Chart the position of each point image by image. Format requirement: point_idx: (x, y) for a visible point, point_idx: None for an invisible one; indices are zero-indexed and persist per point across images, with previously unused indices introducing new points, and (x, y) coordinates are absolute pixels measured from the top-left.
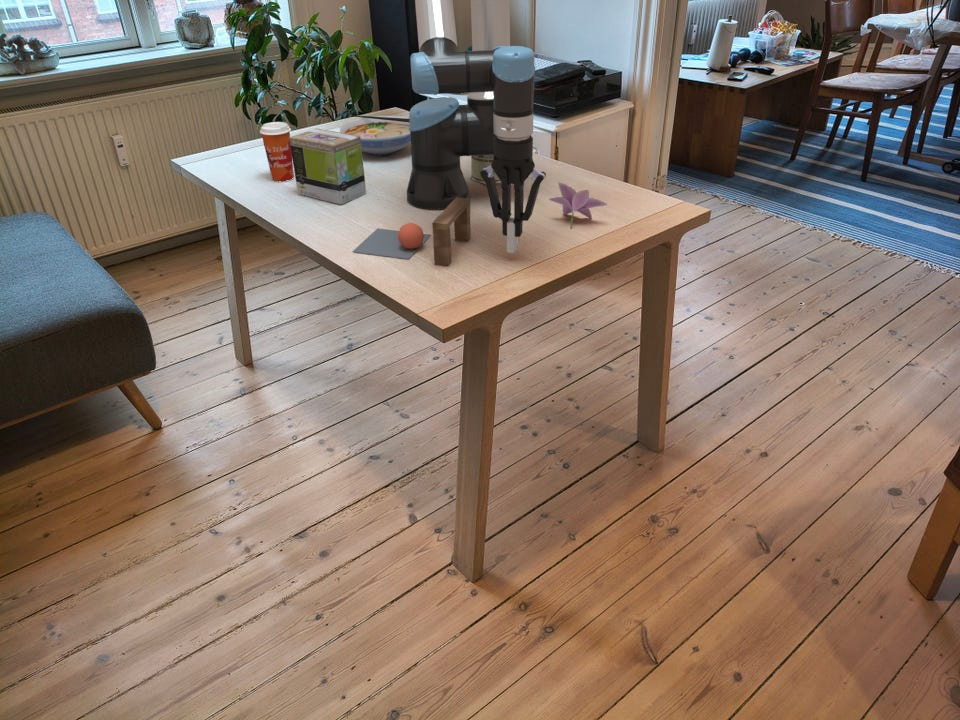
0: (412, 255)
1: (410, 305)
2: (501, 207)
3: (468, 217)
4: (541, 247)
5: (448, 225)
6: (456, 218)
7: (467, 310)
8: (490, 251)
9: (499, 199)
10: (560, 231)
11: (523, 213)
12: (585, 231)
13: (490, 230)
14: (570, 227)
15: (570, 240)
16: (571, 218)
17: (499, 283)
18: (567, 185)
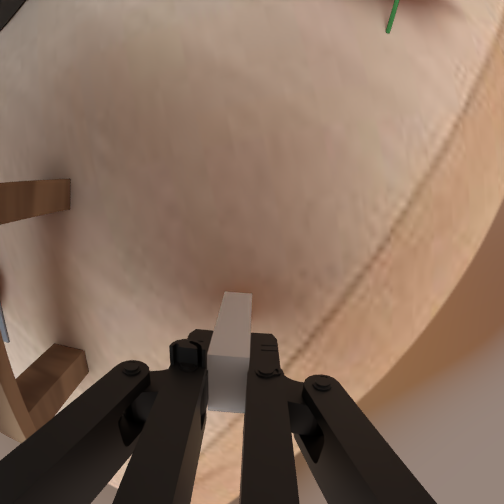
0: (4, 322)
1: (117, 486)
2: (137, 385)
3: (17, 203)
4: (324, 191)
5: (29, 428)
6: (7, 359)
7: (211, 500)
8: (153, 262)
9: (105, 416)
10: (361, 49)
11: (291, 413)
12: (431, 51)
13: (114, 92)
14: (387, 28)
15: (407, 119)
16: (394, 5)
17: (241, 434)
18: None
